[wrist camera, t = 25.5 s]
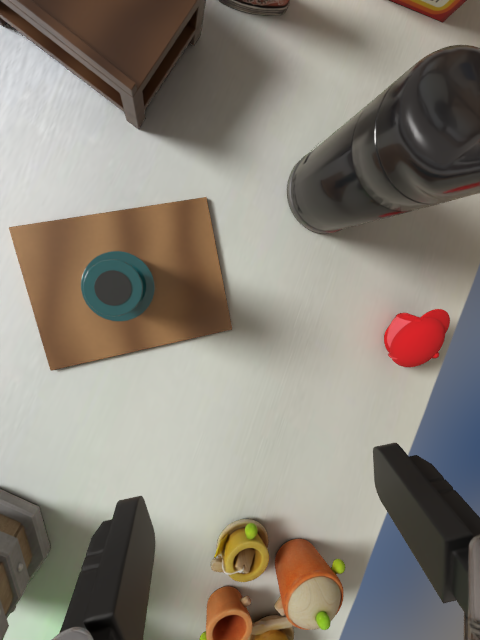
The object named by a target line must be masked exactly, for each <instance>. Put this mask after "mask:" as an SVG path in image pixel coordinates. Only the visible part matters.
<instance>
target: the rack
mask: <svg viewBox="0 0 480 640" xmlns="http://www.w3.org/2000/svg"><path fill="white" fill-rule="evenodd" d="M205 1H206V0H0V25H2V26H3V25H4V24H5V22H7V23H8V24H10V25H11V26H12V27H13V28H15V29H16V30H17V31H19V32H20V33H21V34H23V35H24V36H25V37H27V38H28V39H29V40H30V41H32V42H33V43H34V44H36V45H37V46H38V47H40V48H41V49H42V50H44V51H45V52H46V53H48V54H49V55H50V56H51V57H53V58H54V59H55V60H57V61H58V62H59V63H61V64H62V65H63V66H65V67H66V68H67V69H68V70H70V71H71V72H72V73H74V74H75V75H76V76H78V77H79V78H80V79H82V80H83V81H84V82H86V83H87V84H88V85H89V86H91V87H92V88H93V89H95V90H96V91H97V92H99V93H100V94H101V95H103V96H104V97H105V98H106V99H108V100H109V101H110V102H112V103H113V104H114V105H116V106H117V107H118V108H120V109H121V110H122V111H124V112H125V116H126V120H127V121H128V122H129V123H131V124H132V125H133V126H135V127H136V128H137V129H139V128H140V126H141V125H142V123H143V122H144V120H145V119H146V117H145V109H146V108H147V106H148V105H149V103H150V102H151V100H152V99H153V97H154V96H155V94H156V92H157V91H158V89H159V88H160V86H161V85H162V83H163V82H164V80H165V79H166V77H167V76H168V74H169V73H170V71H171V70H172V68H173V67H174V65H175V64H176V62H177V61H178V59H179V58H180V56H181V55H182V53H183V52H184V50H185V49H186V47H187V46H188V44H189V43H190V44H192V45H193V46H194V44H195V43H196V41H197V40H198V38H199V37H200V35H201V28H202V22H203V15H204V8H205Z"/></svg>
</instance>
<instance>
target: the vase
mask: <svg viewBox="0 0 480 640" xmlns="http://www.w3.org/2000/svg"><path fill="white" fill-rule="evenodd" d="M156 290H157V280H156V276H155V274H154V272H153V270H152V268H151V267H150V266H149V265H148V264H147V263H145V262H144V261H143V260H141V259H140V258H138V257H136V256H135V255H133V254H130V253H127V252H122V251H110V252H106V253H103V254H101V255H99V256H97V257H95V258H94V259H93V260H92V261H91V262H90V263H89V264H88V265H87V266H86V268H85V270H84V272H83V275H82V279H81V291H82V295H83V298H84V300H85V302H86V304H87V305H88V307H89V308H90V309H91V310H92V311H93V312H94V313H95V314H97V315H98V316H100V317H102V318H104V319H107V320H111V321H128V320H131V319H134V318H136V317H138V316H140V315H141V314H142V313H143V312H144V311H145V310H146V309H147V308H148V307H149V305H150V304H151V302H152V300H153V298H154V296H155V293H156Z"/></svg>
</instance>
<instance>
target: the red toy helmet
mask: <svg viewBox="0 0 480 640" xmlns="http://www.w3.org/2000/svg"><path fill="white" fill-rule="evenodd" d="M449 323H450V318H449V315H448V313H447V312H446V311H444V310H442V309H435V310H432V311H429V312H427V313H426V314H424V315H423V316H422V317H421V318H420V317H417V316H414V315H410V314H408V313H400V314H398V315H397V316H396V317H395V318H394V319H393V321H392V322H391V324H390V325H389V327H388V328H387V330H386V332H385V335H384V343H385V347H386V349H387V351H388V352H389V354H388V356H389V357H390V358H392V360H393V361H394V362H395V363H396V364H398V365H400V366H403V367H415V366H419V365H421V364H424V363H426V362H427V361H429V360H430V359H431V358H438V357H439V353H438V351H439V350H440V348H441V347H442V345H443V342H444V339H445V333H446V332H447V330H448V327H449Z"/></svg>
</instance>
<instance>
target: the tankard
mask: <svg viewBox="0 0 480 640" xmlns="http://www.w3.org/2000/svg"><path fill="white" fill-rule="evenodd" d="M50 548H51V547H50V543H49V540H48V536H47V533H46V529H45V525H44V522H43V518H42V515H41V511H40V508H39V506H37V505H34V504H32V503H30V502H28V501H26V500H23V499H21V498H19V497H17V496H15V495H12V494H10V493H8V492H6V491H4V490H1V489H0V640H3V638H4V635H5V633H6V631H7V629H8V626H9V625H8V622H7V617H8V616H9V614H10V613H12V612H13V611H14V610H15V608H16V604H17V603H18V601H19V600H20V599H21V597H22V595H23V593H24V590H25V588H26V586H27V585H28V583H29V582H30V580H31V579H32V577H33V576H34V575H35V573H36V572H37V570H38V569H39V567H40V566H41V564H42V563H43V562H44V560H45V559H46V557H47V555H48V553H49V551H50Z"/></svg>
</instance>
